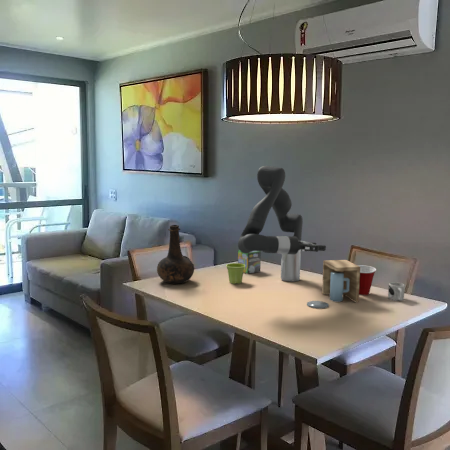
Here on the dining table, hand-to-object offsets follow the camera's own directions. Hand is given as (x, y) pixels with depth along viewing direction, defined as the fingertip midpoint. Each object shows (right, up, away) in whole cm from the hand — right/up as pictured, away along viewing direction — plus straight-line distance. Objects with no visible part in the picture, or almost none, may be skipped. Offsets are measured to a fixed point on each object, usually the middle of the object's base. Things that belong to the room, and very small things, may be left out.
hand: (320, 246), depth 211 cm
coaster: (-2, -24, -4) cm, 25 cm away
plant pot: (-36, -19, +32) cm, 51 cm away
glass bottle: (-65, -19, +32) cm, 75 cm away
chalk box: (-28, -16, +56) cm, 64 cm away
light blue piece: (+9, -23, +5) cm, 26 cm away
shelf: (+10, -23, +8) cm, 26 cm away
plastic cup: (+22, -22, +15) cm, 35 cm away
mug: (+35, -24, +6) cm, 43 cm away
